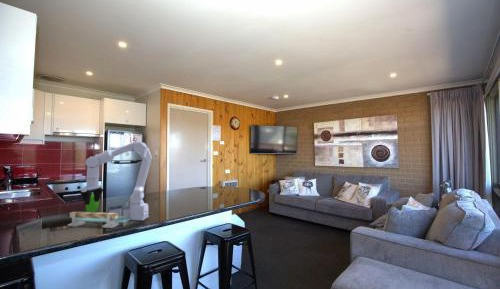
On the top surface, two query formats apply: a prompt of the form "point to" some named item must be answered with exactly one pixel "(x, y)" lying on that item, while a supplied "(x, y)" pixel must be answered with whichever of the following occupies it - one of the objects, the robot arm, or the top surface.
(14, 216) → the top surface
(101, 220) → the mat
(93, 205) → the cup
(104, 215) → the rail
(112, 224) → the hook stand
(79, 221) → the hook stand
